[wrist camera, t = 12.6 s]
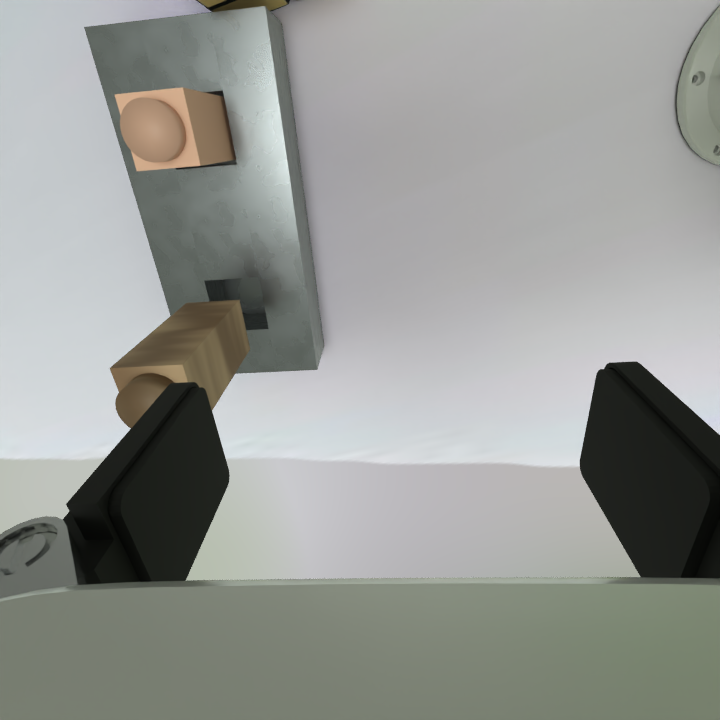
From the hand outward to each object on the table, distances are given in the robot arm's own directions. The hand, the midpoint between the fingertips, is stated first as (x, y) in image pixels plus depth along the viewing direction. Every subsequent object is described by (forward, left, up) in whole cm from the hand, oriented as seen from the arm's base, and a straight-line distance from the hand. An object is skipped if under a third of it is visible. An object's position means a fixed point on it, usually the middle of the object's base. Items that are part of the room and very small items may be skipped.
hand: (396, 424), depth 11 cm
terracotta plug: (+13, -8, -29) cm, 33 cm away
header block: (+13, -1, -30) cm, 33 cm away
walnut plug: (+13, +6, -21) cm, 25 cm away
